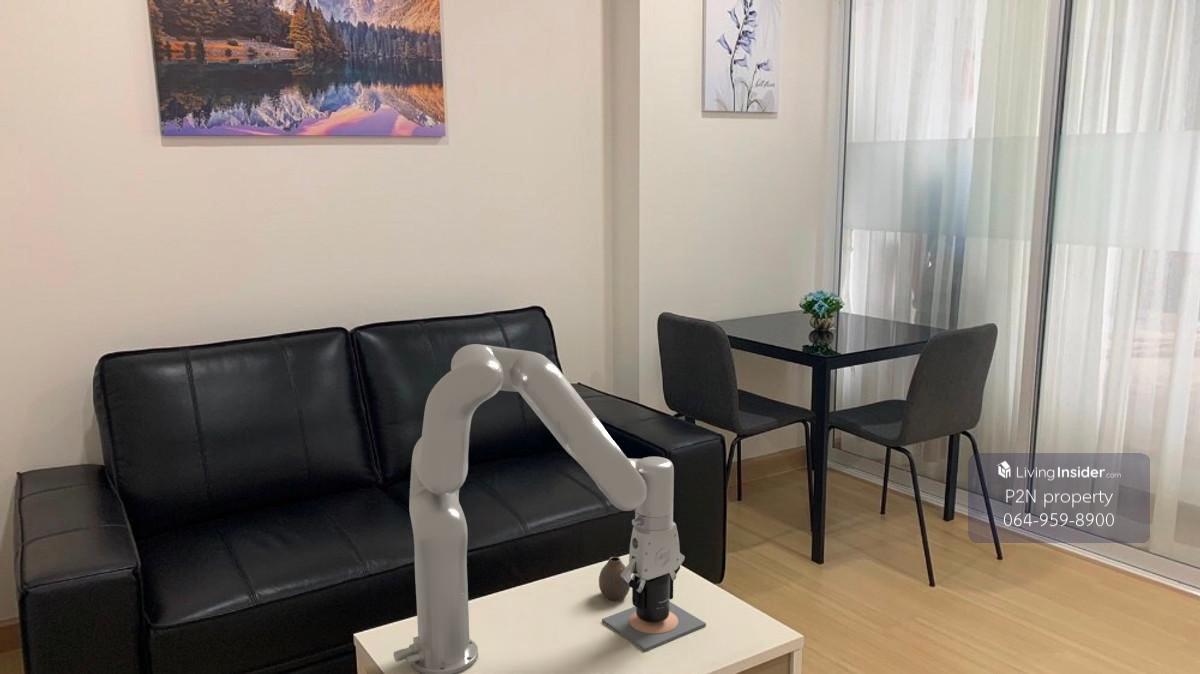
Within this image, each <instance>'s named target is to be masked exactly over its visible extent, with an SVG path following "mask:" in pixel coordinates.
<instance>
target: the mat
mask: <svg viewBox="0 0 1200 674" xmlns="http://www.w3.org/2000/svg"><path fill="white" fill-rule="evenodd" d="M601 622H602V623H603V624H605V625H606V626H608V627H609V628H610V629H612V631H615V632H616V633H618V634H619V636H620V635H621V636H622V637H623V638H625V639H626V640H627V641H629V642H631V643H632V644H633V645H634V646H636V647H638V648H639V649H640V650H641V651H643V652H647V651H650V650H652V649H654V648H656V647H660V646H662V645H664V644H666V643H669V642H671V641H674V640H676V639H678V638H681V637H683V636H685V635H688V634H690V633H692V632H695V631H697V630H700V629H703V628H704V627H706V626H707V623H706V622H705V621H703V620H702V619H700V618H697V617H696V616H695V615H693V614H691V613H690V612H687V611H686V610H685V609H683V608H681V607H680V606H678V605H677V604H674V603H673V602H671V601H670V604H669V616H668V618H667V619H666V620H664V621H662V622H658V623H650V622H645V621H643V620H641V619H639V618H638V616H637V614H636V606H633V607H630V608H628V609H625V610H621V611H620V612H617V613H614V614H611V615H609V616H605V617H604V618H601Z"/></svg>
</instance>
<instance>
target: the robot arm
mask: <svg viewBox="0 0 1200 674" xmlns="http://www.w3.org/2000/svg"><path fill="white" fill-rule="evenodd" d="M450 369H451V370H450V371H449V372H447V373H446V374H445V375H443V377H441V378H440V379H439V381H437V382H436V384H435V385H434V386H433V388H432V389H431V390H430V393H429V394H428V396H427V399H426V402H425V406H424V413H423V414H424V415H423V423H422V429H421V430H422V432H421V437H420V438H419V439H418V440H417V441H416V443H415V445H414V448H413V450H412V455H411V464H410V465H411V467H410V481H409V483H410V485H409V487H410V488H409V498H408V499H409V500H408V501H409V502H408V503H409V505H408V506H409V507H408V508H409V509H408V510H409V516H410V521H411V527H412V534H413V544H414V545H413V547H414V577H415V578H414V581H415V595H416V596H415V597H416V599H415V600H416V618H417V636H414V637H413V640H412V641H413V642H412V643H411V644H409V646H408V647H406V648H402V649H399V650H395V651H394V652H393V659H394V661H395V662H396V663H399V662H401V661H404V660H405V662H406V664H407V665H408V666H409V665H412V667H413V668H414V669H415V670H416V671H418V672H420V673H422V674H457V673H460V672H463V671H465V670H467V669H468V668H470V667H471V666H473V664H474V663H476V661H477V659H478V656H479V649H478V648H479V647H478V645H477V644H476V642H475V641H474V640H472V639H471V638H470V621H469V619H470V618H469V617H470V615H469V613H470V612H469V592H468V591H469V590H468V589H469V588H468V586H469V585H468V567H467V564H468V557H467V554H468V539H469V538H468V536H469V535H468V525H467V520H466V517H465V514H464V513H465V512H464V511H463V508H462V506H461V504H460V501H459V496H460V495H459V493H460V489H461V487H463V485H464V483H465V482H466V478H467V476H468V470H469V447H470V445H469V444H470V432H471V424H472V419H473V415H474V413H475V411H476V410H477V408H478V407H479V406H480V405H482V404H483V403H484V402H486V401H488V400H489V399H491V398H492V397H494V396H495V395H496V394H497V393H498V392H499V391H505V392H516V393H517V392H518V393H519V394H520V395H521V397H522V398H523V400H525V402H526V403H527V405H528V406H530V407H529V408H531V409H532V411H533V412H534V413H535V415H536V416H537V417H538V418H539V419H540V420H541V422H542V423H543V424H544V426H545V427H546V428H547V429H548V430H549V431H550V433H551V434H552V435H553V437H554V438H555V439H556V440H557V441H558V443H559V444H560V445H561V446H562V448H563V449H564V450H565V451H566V452H567V453H568V455H570V456H571V457H572V458H573V459H574V460H575V461H576V462H577V463H578V464H579V465H580V466H581V467H582V468H583V470H584V471H585V472H586V473H587V474H588V476H589V477H590V478H591V479H592V480H593V482H595V484H596V486H597V487H598V489H599V490H600V491H601V492H602V494H603V495H604V496H605V497H606V498H607V499H608V500H609V501H610V503H611V504H612V505H613V506H614V507H615V508H617V509H618V510H620V511H624V512H626V511H627V512H629V511H630V512H631V511H634V512H635V518H633V519H632V520H631V525H632V526H633V527H632V532H631V537H630V541H629V542H630V543H629V552H628V553H629V556H628V563H627V565H626V566H625V567H626V568H625V569H624V571H623V572H622V574H621V575H620V577H621V578H622V579H623V580H624V581H625V582H626V583H627V584H628V585H629V586H630V589H632V592H631V593H632V594H631V596H632V597H631V599H632V600H631V601H632V605H633V607H635V606H636V607H637V608H639V609H640V610H644V608H645V591H643V587H644V585H645V582H646V581H647V580H651V579H654V578H657V577H660V576H662V575H665V574H669V576H670V600H672V599H674V581H675V580H676V579H677V574H678V572H679V571H680V569H681V566H682V564H683V562H684V561H685V558H686V557H685V555H684V554H682V553H681V551H680V539H679V532H678V527H677V524H676V523H675V521H674V489H675V487H674V486H675V485H674V482H675V481H674V480H675V472H674V471H675V470H674V469H675V468H674V464H673V462H672V461H671V460H670V459H668V458H665V457H661V456H655V455H654V456H647V457H643V458H632V457H631V458H629V457H627V456H626V454H625V453H624V452H623V450H621V448H620V447H619V445H618V444H617V443H616V442H615V440H613V438H612V437H611V435H610V434H609V433H608V431H607V430H606V429H605V426H604V425H603V424H602V422H601V421H600V420H599V418H597V415H595V413H594V412H593V411H592V410H591V409H590V407H589V406H588V405H587V404H586V402H585V401H584V400H583V398H582V397H581V396H580V394H579V393H578V392H577V390H576V389H575V388H574V387H573V385H571V382H569V380H568V379H567V378H566V376H565V375H564V374H563V373H562V371H561V370H560V369H559V368H558V367H557V366H556V364H554V363H553V361H552V360H550V359H549V358H548V357H546V356H545V355H544V354H542V353H539V352H535V351H529V350H524V349H516V348H510V347H509V348H508V347H500V346H493V345H489V344H488V345H486V344H478V343H472V344H467V345H464V346H462V347H461V348H459V349H458V350H457V351H455V353H454V355H453V357H452V358H451V364H450ZM638 578H640V580H639V583H638V584H637V581H638Z"/></svg>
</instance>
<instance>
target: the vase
mask: <svg viewBox="0 0 1200 674" xmlns="http://www.w3.org/2000/svg"><path fill="white" fill-rule="evenodd" d="M626 567H627V566H626V565H625V564H624V562H622V560H621V558H620V557H619V556H611V557H609V558H608V561H607V563H606V564H605V565H604V566H603V567H602V568H601V571H600V573H599V576H598V587H599V590H600V592H601V594H602V596H603V597H605V599H607V600H609V601H611V602H612V601H615V602H616V601H621V600H623V599H624V598H625V597H626V596H627V595H628V594H629V592H630V589H631V587H630V586H629V585H628V584H627V583H626V582H625V581H624V580H623V579H622V578H621V577H620V575H621V574H622V572H623V571H624V569H625V568H626Z"/></svg>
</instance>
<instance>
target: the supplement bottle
mask: <svg viewBox="0 0 1200 674" xmlns="http://www.w3.org/2000/svg"><path fill="white" fill-rule="evenodd" d="M639 580H640V578H638V581H637V584H638V583H639ZM643 591H645V608H644V610H640V609H639V608H637V607H636V614H637V616H638V618H639V619H641V620H643V621H645V622H650V623H658V622H662V621H664V620H666V619H667V618H668V616H669V604H670V602H671V599H670V576H669V574H665V575H662V576H660V577H657V578H654V579H651V580H647V581H646V582H645V585H644V587H643Z"/></svg>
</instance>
